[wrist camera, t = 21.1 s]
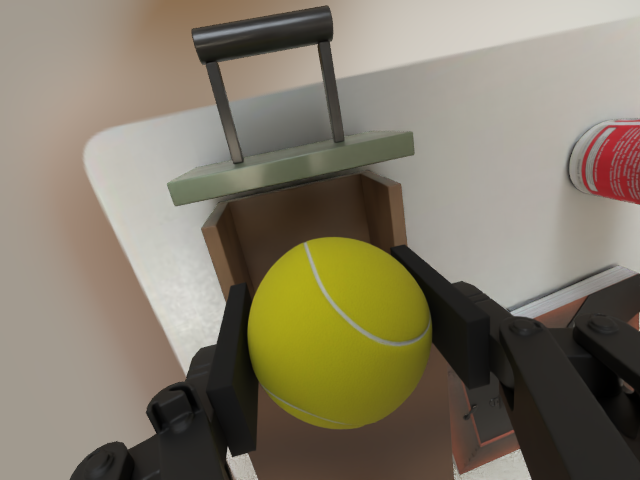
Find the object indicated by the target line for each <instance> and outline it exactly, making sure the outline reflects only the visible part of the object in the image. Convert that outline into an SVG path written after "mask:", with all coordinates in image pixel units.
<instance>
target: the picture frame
mask: <svg viewBox="0 0 640 480" xmlns="http://www.w3.org/2000/svg"><path fill="white" fill-rule="evenodd" d="M639 312H640V274H639V273H637V272H634V271H632V270H629V269H627V268H624V267H621V266H619V265H618V266H616V267H613V268H611V269H609V270H606V271H604V272H602V273H599V274H597V275H595V276H593V277H590V278H588V279H585V280H583V281H581V282H578V283H576V284H574V285H571V286H569V287H567V288H564V289H562V290H560V291H557V292H555V293H553V294H550V295H548V296H546V297H543V298H541V299H539V300H536V301H534V302H532V303H530V304H527V305H525V306H522V307H520V308H518V309H515V310H513V311H511V312H509V313H511V314H512V315H513V316H523V317H528V318H532V319H535V320H537V321H539V322H541V323H542V324H544V325H545V326H546V327H547V328H569V327H573V325H574V319H575V318H576V317H577V315H580V314H583V313H602V314H606V315H610V316H613V317H616V318H618V319H620V320H622V321H624V322H626V323H627V324H629V325H630V326H632V327H634V328H635V329H637V330H638V331H639ZM447 373H448V389H449V406H450V422H451V439H452V455H453V464H454V465H455V467H456V469H457V471H458V473H459V474H460V475H461V474H463V473H465V472H468V471H470V470H472V469H475V468H477V467H479V466H481V465H484V464H486V463H488V462H490V461H493V460H495V459H497V458H500V457H502V456H504V455H506V454H509V453H511V452H513V451H516V450H518V449H520V446H519V444H518V441H517V438H516V435H515V433H514V430H513V427H512V425H511V422H510V419H509V416H508V414H507V411H506V408H505V406H504V403H503V409H499V379H498V378H497V377H496V376H495V375H494V374H493V373H492V372H491V371H490V384H489V385H486V386H482V387H478V388H475V389H471V390H469V389H468V388H467V387H466V386H465V384H464V383H463V382H462V380H461V379H460V378H459V376H458V375H457V374H456V373H455V371H454V370H453V369H452V367H451V366H450V365H449V364H448V362H447ZM623 384H624V385H625V386H626V387H627V388H628V389H630V390H631V391H634V389H633V388H632V387H631V386H630V385H628V384H627V383H626V382H625V381H623Z"/></svg>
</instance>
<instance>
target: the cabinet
mask: <svg viewBox="0 0 640 480" xmlns="http://www.w3.org/2000/svg"><path fill="white" fill-rule="evenodd" d="M248 454H249V457H250V459H251V462H252V464H253V467H254V470H255V472H256V475H257V477H258V480H454V472H453V455H452V439H451V422H450V406H449V389H448V373H447V361H446V360H445V358H444V357H443V356H442V354H441V353H440V352H439V351H438V349H437V348H436V347H435V345H434V344H433V343H432V344H431V350H430V355H429V359H428V362H427V365H426V368H425V370H424V373H423V375H422V377H421V379H420V381H419V383H418V384H417V386H416V388H415V389H414V391H413V392H412V393H411V395H410V396H409V397H408V398H407V399H406V400H405V401H404V402H403V403H402V404H401V405H400V406H399V407H398V408H397V409H396V410H394V411H393V412H392V413H390V414H389V415H388V416H386V417H384V418H383V419H381V420H379V421H377V422H375V423H371V424H366V425H364V426H362V427H358V428H353V429H330V428H323V427H319V426H315V425H312V424H309V423H307V422H304V421H302V420H300V419H298V418H296V417H294V416H293V415H291V414H289V413H288V412H286V411H285V410H283V409H282V408H281V407H280V406H279V405H277V404H276V403H275V402H274V401H273V400H272V399H271V397H270V396H269V395H268V394H267V393H266V391H265V390H264V389H263V387H262V386H261V384H260V382H259V388H258V416H257V445H256V451H252V452H249V453H248Z"/></svg>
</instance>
